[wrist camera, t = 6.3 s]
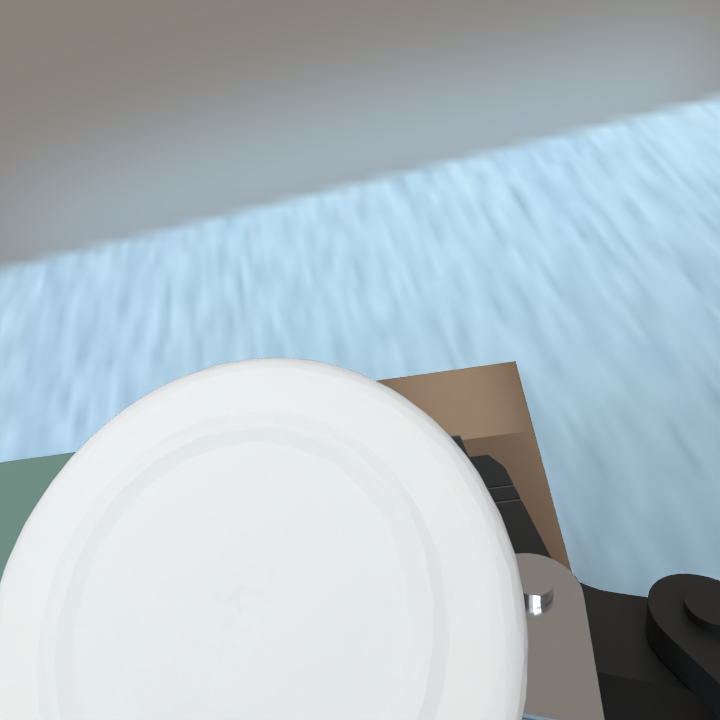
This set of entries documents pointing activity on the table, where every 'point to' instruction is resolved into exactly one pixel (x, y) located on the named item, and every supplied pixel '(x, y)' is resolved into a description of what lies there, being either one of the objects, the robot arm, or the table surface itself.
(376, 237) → the table surface
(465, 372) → the keeper collar
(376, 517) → the sprinkles bottle
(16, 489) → the rubber mat
